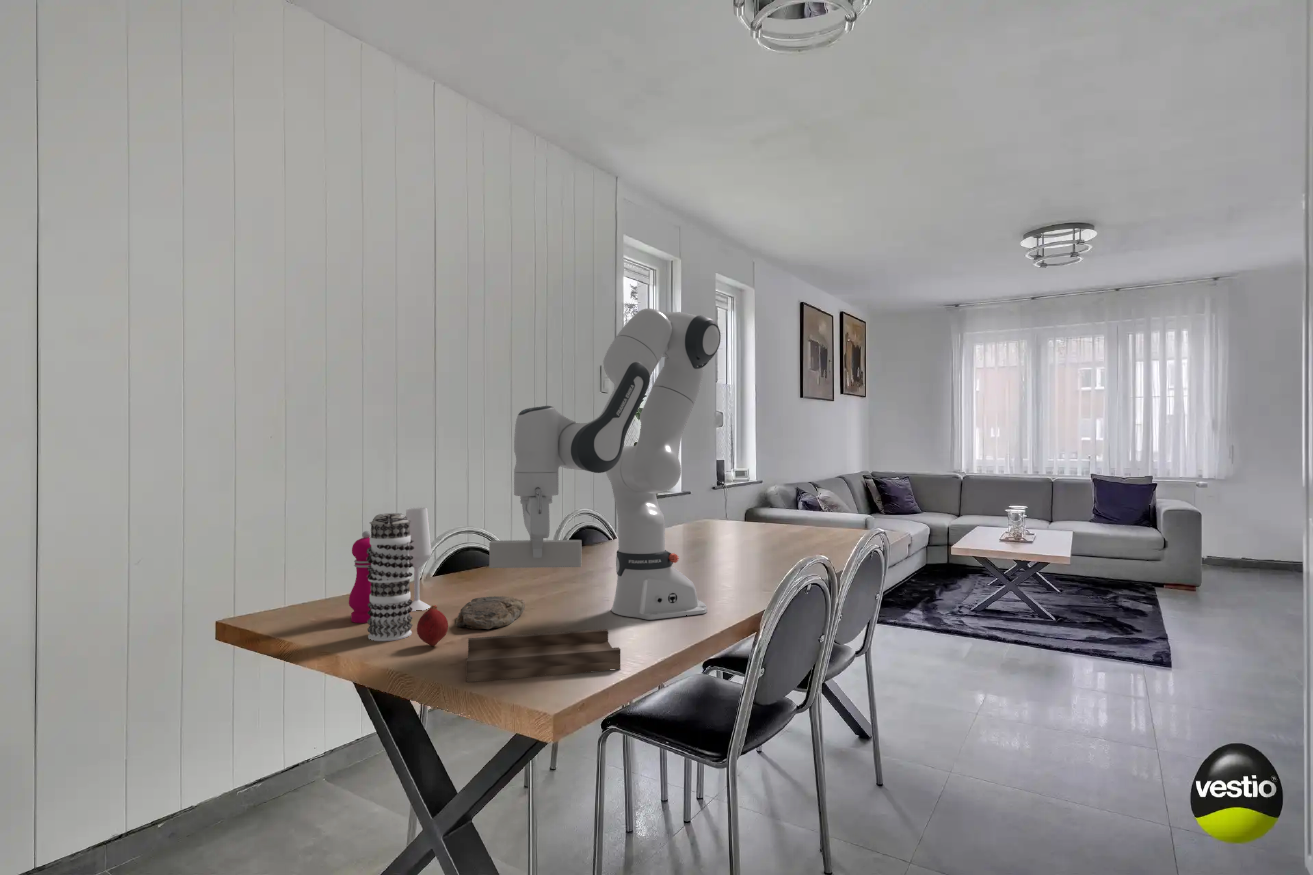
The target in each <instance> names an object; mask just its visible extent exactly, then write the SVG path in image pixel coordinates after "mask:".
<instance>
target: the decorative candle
mask: <svg viewBox="0 0 1313 875" xmlns="http://www.w3.org/2000/svg"><path fill="white" fill-rule="evenodd" d="M410 522H411V521H410V520H408V519H407V517H406V514H403V513H399V512H398V513H396V512H395V513H393V512H391V513H379V514H377V515H375V516H374V518H373V519H372V520H371V521H370V522H369V524H370V533H371V536H370V537H369V538H370V544H371V547H370V548H368V549H367V551H366V552H367V553H368V555H369V556H368V557H367V558H366V560H367V561H368V562H369V563H371V565H369V566H368V568H367V570H368V571H369V575H367V578H368V581H370V582H371V594H370V603H369V604H368V607H369V608H371V609H370V610H369V611H368V614H369V616H371V617H370V619H369V620H368V621H367V623H366V624H368V627H367V631H368V633H369V634H368V636H367V638H368V640H370V639H371V640H370V641H373V640H374V642H392V641H397V640H398V641H399V640H402V639H406V638H408V636H409V637H410V636H411V635H412V634H413V632H412V627H413V624H412V623H411V622H412V621H413V616H412V615H411V614H410V613H411V612H413V611H412V608H411V607H410V606H409V605H411V603H412V601H413V599H412V600H411V590H410V585H411V584H410V583H411V582H410V580H411V579H412V578H413V573H412V572H410V569H411V568H413V567H412V566H413V564H412V563H411V562H409V561H410V560H411V559H413V556H411V555H409V551H410V550H413V549H414V547H413V546H412V545H409V543H412V542H414V541H413V540H411V535H410Z"/></svg>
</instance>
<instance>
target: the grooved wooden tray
mask: <svg viewBox="0 0 1313 875" xmlns="http://www.w3.org/2000/svg"><path fill="white" fill-rule="evenodd" d="M467 641H468V642H467V644H468V651H467V652H468V653H467V658H466V683H472V682H473V683H474V682H484V681H495V680H496V681H497V680H511V679H520V678H521V679H522V678H523V679H524V678H534V677H547V676H560V675H573V674H584V673H585V672H586V673H592V672H591V671H598V672H605V671H604V670H610V669H620V670H621V648H620V647H619V646H618V647H612V645H611V644H610V642H609V630H608V628H603V629H602V628H601V629H600V628H599V629H588V630H587V629H585V630H573V631H572V630H571V631H570V630H569V631H558V632H557V631H555V632H540V633H527V634H510V635H496V636H482V637H469V638H468V640H467ZM586 673H585V674H586Z"/></svg>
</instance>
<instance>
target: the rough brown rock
mask: <svg viewBox="0 0 1313 875" xmlns="http://www.w3.org/2000/svg"><path fill="white" fill-rule="evenodd" d="M525 607H526V604H525V600H523V599H518V598H515V597H513V596H503V595H502V596H496V595H495V596H482V597H477V598H472V599H471V600H470V601H468V602H467V603H465V605H464V606H463V607H462V608H461V609H460V611H459V613H458V615H457V617H456V620H455V625H456V626H457V627H459V628H465V627H466V628H467V629H477V630H479V629H482V630H484V629H485V630H491V629H497V628H501V627H506V626H509V625H510V624H512V623H514V622H515V621H516V620H517V619H519V618H520V615H522V614H523V613H524V611H525V609H526V608H525Z"/></svg>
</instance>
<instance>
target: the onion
mask: <svg viewBox="0 0 1313 875" xmlns="http://www.w3.org/2000/svg"><path fill="white" fill-rule="evenodd" d="M430 606H431V607H430V609H427V610H425V612H424V613H423V614H422V615H421V616H420V618H419V620H418V622H417V625H416V632H417V633H416V634H417V636H418V637H419V639H420V640H422V642H424V643H426V644H427V645H428V646H431V647H434V646H436V645H437V644H438V643H439V642H440V641H442V640H443V639H444V638H445V636H446V635H447V633H448V629H449V622H448V619H447V617H446V615H445V614H444V613H443V612H441V611H440V610H438V609H437V608H438V605H436V604H431V605H430Z"/></svg>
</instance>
